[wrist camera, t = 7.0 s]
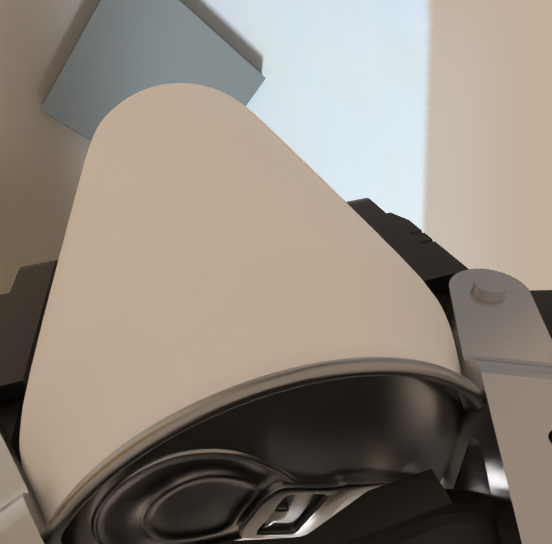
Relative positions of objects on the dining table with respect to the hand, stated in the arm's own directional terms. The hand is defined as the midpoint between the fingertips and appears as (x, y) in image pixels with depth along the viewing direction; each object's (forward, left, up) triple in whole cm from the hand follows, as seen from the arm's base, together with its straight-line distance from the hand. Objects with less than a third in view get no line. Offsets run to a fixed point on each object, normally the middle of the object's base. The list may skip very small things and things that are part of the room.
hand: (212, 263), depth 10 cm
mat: (0, 0, -22) cm, 22 cm away
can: (0, 0, -6) cm, 6 cm away
